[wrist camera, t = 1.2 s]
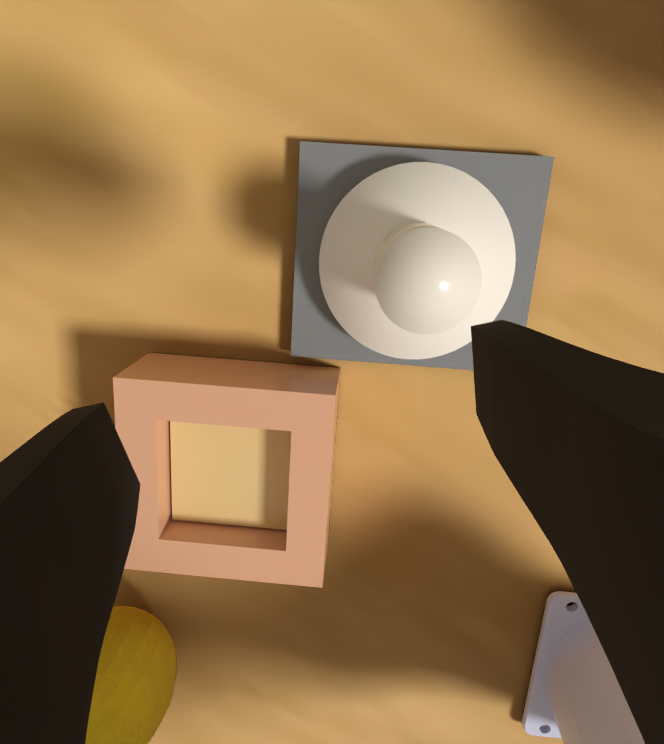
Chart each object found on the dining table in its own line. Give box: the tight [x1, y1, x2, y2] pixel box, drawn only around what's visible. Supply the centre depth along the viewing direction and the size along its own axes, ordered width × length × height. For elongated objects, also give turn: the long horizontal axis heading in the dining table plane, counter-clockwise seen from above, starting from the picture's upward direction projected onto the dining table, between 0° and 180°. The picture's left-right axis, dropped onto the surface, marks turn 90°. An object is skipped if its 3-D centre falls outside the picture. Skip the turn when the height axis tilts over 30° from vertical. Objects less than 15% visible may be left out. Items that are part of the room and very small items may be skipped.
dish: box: [113, 353, 340, 588], centre depth 23 cm, size 8×8×4 cm
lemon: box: [85, 606, 177, 744], centre depth 24 cm, size 6×6×8 cm
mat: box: [291, 141, 554, 370], centre depth 22 cm, size 9×8×1 cm
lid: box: [319, 162, 516, 359], centre depth 19 cm, size 7×7×6 cm
